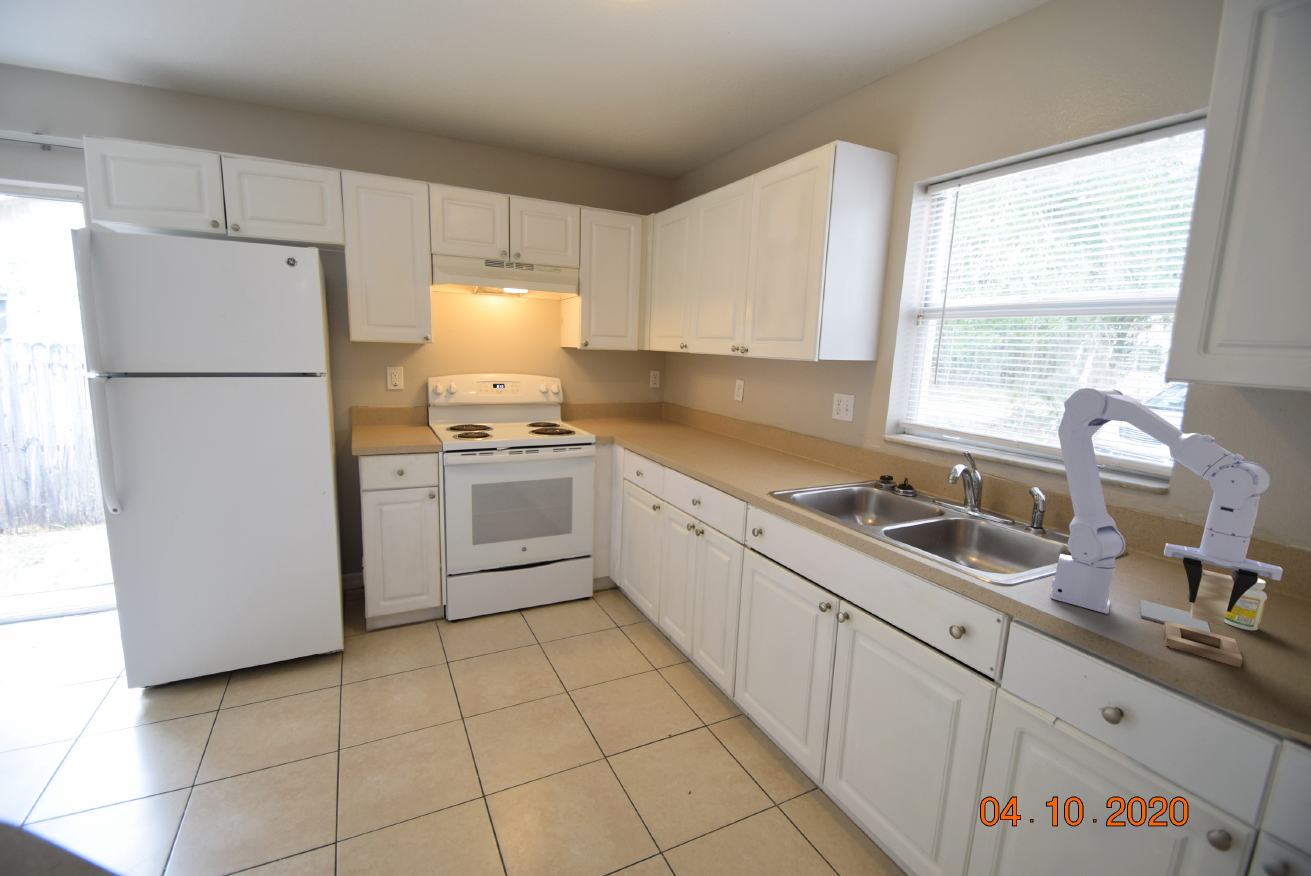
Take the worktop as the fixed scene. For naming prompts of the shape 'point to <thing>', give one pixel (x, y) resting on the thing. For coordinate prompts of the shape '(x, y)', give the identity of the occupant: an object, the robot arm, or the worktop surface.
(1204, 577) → the maple part
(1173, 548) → the robot arm
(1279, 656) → the worktop surface
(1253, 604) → the supplement bottle
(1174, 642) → the pocket block
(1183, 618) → the slate mat
